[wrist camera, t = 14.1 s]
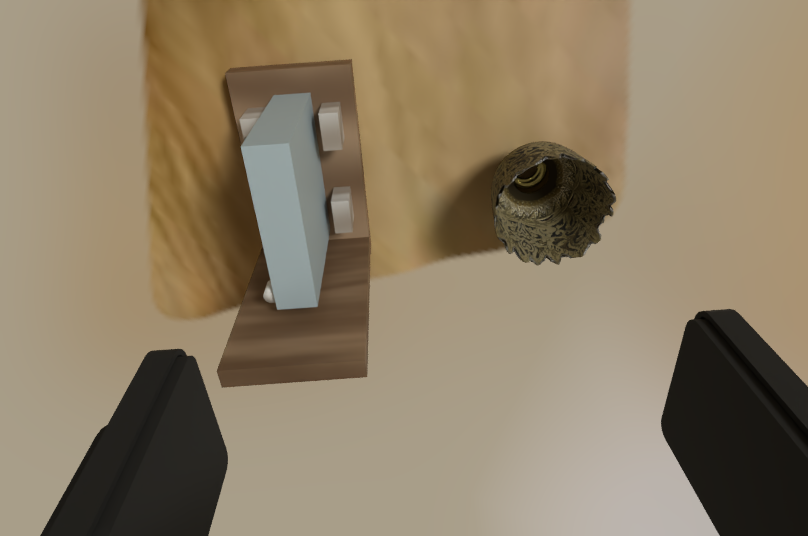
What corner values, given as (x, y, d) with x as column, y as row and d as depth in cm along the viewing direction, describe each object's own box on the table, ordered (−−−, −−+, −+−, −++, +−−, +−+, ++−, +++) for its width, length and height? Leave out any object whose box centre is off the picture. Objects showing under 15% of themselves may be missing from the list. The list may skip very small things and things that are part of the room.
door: (261, 96, 36) (224, 147, 27) (310, 92, 36) (288, 143, 27) (287, 231, 41) (263, 310, 32) (330, 228, 41) (317, 306, 32)
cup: (546, 224, 43) (577, 280, 36) (460, 196, 42) (476, 249, 35) (594, 137, 40) (639, 180, 33) (502, 103, 38) (529, 141, 31)
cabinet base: (230, 68, 36) (145, 146, 23) (351, 59, 36) (335, 133, 23) (270, 251, 44) (223, 391, 30) (371, 244, 44) (367, 381, 30)
